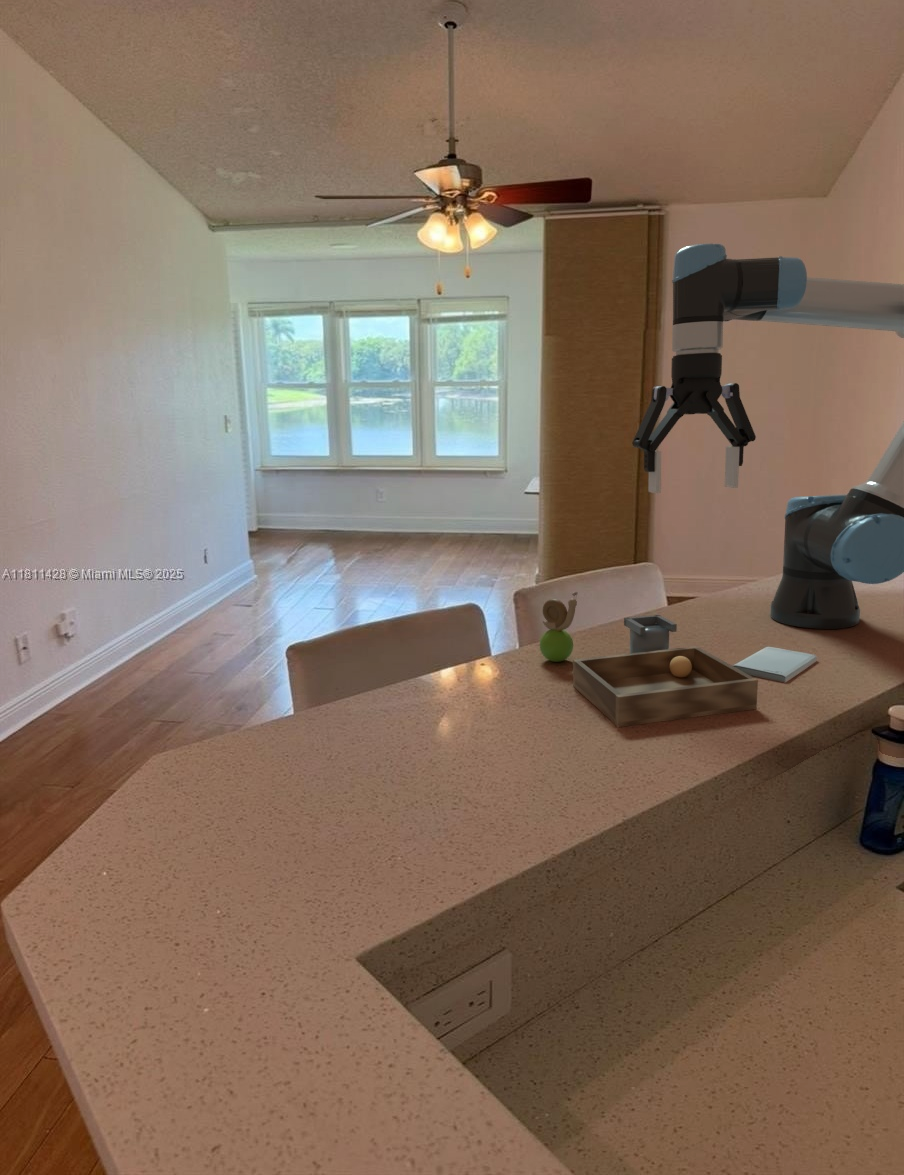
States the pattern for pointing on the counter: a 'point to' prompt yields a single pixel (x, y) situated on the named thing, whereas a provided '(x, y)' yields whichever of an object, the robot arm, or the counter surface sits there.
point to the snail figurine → (557, 629)
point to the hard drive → (776, 663)
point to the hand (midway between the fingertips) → (693, 490)
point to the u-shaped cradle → (649, 633)
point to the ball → (680, 666)
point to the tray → (663, 686)
